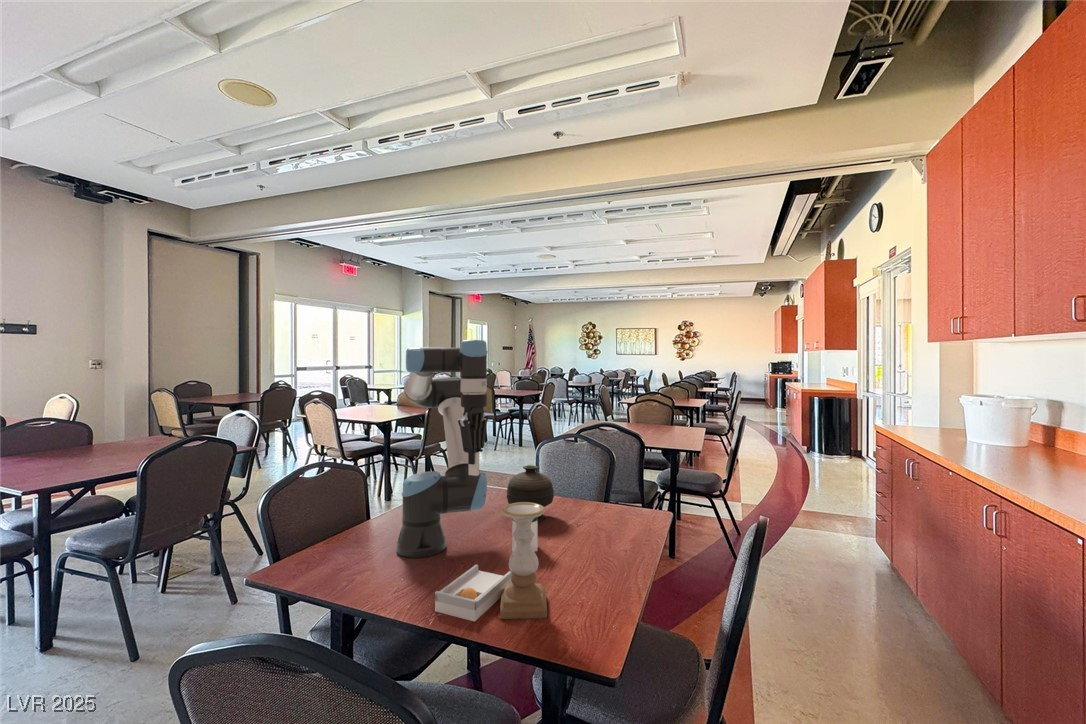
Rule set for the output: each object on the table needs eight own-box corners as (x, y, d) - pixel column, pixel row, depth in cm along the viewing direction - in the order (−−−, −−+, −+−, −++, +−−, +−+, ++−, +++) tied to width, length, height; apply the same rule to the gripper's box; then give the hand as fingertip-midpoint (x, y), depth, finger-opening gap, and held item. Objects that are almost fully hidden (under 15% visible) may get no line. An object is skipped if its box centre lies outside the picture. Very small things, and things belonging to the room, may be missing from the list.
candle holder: (545, 595, 120) (545, 501, 120) (547, 618, 109) (547, 515, 109) (502, 595, 120) (501, 501, 120) (499, 619, 109) (499, 515, 109)
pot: (519, 505, 191) (522, 457, 190) (559, 516, 183) (563, 465, 182) (495, 520, 175) (499, 467, 174) (538, 532, 167) (542, 477, 166)
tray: (435, 611, 112) (435, 592, 112) (475, 579, 129) (475, 562, 129) (474, 621, 108) (474, 601, 108) (511, 587, 124) (511, 569, 124)
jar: (519, 556, 144) (519, 517, 144) (506, 547, 151) (506, 509, 150) (543, 550, 149) (543, 511, 149) (530, 541, 155) (530, 505, 155)
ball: (455, 597, 114) (463, 582, 117) (460, 608, 115) (468, 593, 119) (469, 600, 112) (477, 585, 115) (474, 611, 114) (481, 596, 117)
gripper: (472, 395, 130) (472, 481, 130) (496, 392, 142) (496, 471, 142) (449, 394, 133) (449, 478, 133) (474, 391, 145) (475, 468, 145)
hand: (473, 474), depth 137 cm, fingers closed
